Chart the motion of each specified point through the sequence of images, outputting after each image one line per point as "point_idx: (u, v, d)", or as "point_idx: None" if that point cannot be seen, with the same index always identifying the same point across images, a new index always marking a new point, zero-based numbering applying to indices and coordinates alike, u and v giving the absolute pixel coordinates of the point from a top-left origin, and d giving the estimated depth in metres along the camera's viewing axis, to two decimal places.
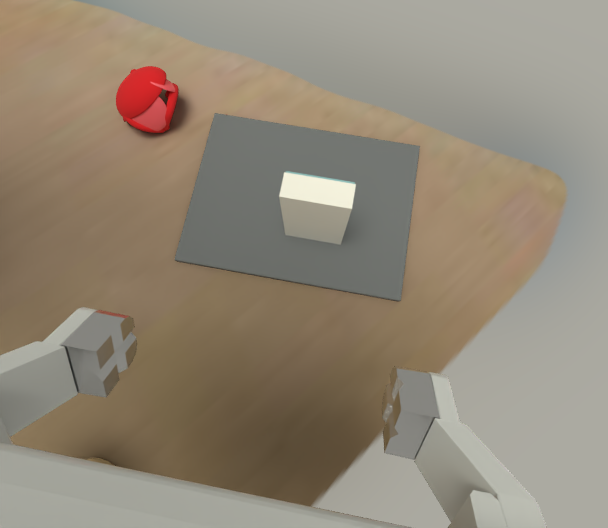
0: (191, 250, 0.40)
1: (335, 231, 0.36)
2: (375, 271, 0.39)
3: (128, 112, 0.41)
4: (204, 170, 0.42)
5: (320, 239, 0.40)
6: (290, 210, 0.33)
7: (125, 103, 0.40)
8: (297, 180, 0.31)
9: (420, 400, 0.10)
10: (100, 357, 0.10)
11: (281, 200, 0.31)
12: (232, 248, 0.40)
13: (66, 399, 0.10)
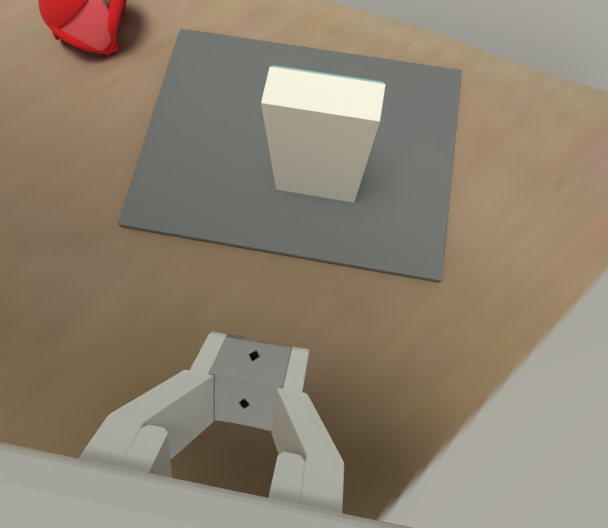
0: (142, 211, 0.28)
1: (348, 176, 0.25)
2: (405, 240, 0.28)
3: (54, 17, 0.29)
4: (164, 103, 0.30)
5: (325, 194, 0.28)
6: (280, 136, 0.21)
7: (48, 2, 0.28)
8: (290, 78, 0.19)
9: (269, 371, 0.10)
10: (246, 385, 0.10)
11: (265, 112, 0.20)
12: (200, 207, 0.28)
13: (205, 427, 0.10)
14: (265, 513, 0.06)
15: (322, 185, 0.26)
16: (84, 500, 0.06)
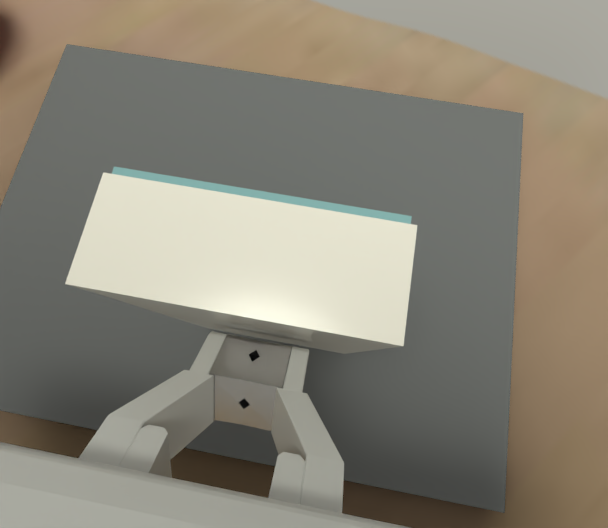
0: None
1: (329, 347, 0.12)
2: (435, 428, 0.15)
3: None
4: (28, 169, 0.18)
5: (293, 343, 0.16)
6: (165, 311, 0.09)
7: None
8: (156, 208, 0.07)
9: (269, 371, 0.10)
10: (246, 385, 0.10)
11: (96, 292, 0.07)
12: (73, 363, 0.16)
13: (205, 427, 0.10)
14: (265, 513, 0.06)
15: (284, 341, 0.14)
16: (84, 500, 0.06)
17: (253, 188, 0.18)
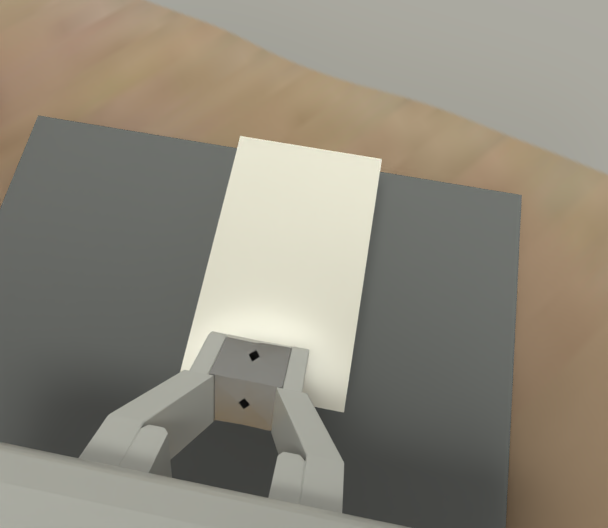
0: None
1: (336, 298, 0.14)
2: None
3: None
4: None
5: None
6: (244, 198, 0.15)
7: None
8: None
9: (269, 371, 0.10)
10: (246, 385, 0.10)
11: (239, 152, 0.16)
12: None
13: (205, 427, 0.10)
14: (265, 513, 0.06)
15: (284, 342, 0.14)
16: (84, 500, 0.06)
17: None
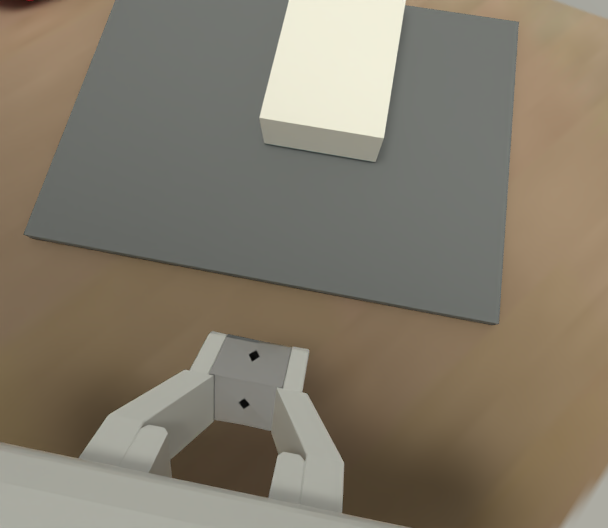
0: (60, 216, 0.19)
1: (377, 66, 0.19)
2: (442, 261, 0.19)
3: None
4: (100, 64, 0.22)
5: (339, 120, 0.18)
6: (304, 0, 0.20)
7: None
8: None
9: (269, 371, 0.10)
10: (246, 385, 0.10)
11: None
12: (144, 211, 0.19)
13: (205, 427, 0.10)
14: (265, 513, 0.06)
15: (338, 94, 0.18)
16: (84, 500, 0.06)
17: None
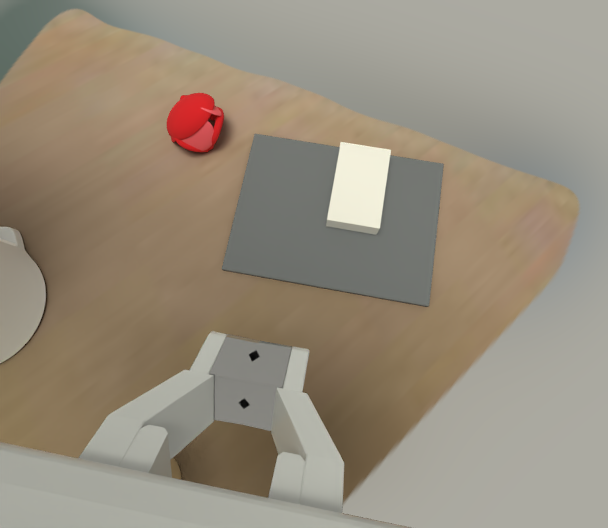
0: (237, 260, 0.44)
1: (376, 195, 0.43)
2: (405, 279, 0.43)
3: (179, 134, 0.44)
4: (246, 186, 0.46)
5: (361, 220, 0.42)
6: (343, 163, 0.44)
7: (177, 126, 0.44)
8: None
9: (269, 371, 0.10)
10: (246, 385, 0.10)
11: (341, 147, 0.45)
12: (274, 258, 0.44)
13: (205, 427, 0.10)
14: (265, 513, 0.06)
15: (360, 208, 0.43)
16: (84, 500, 0.06)
17: None
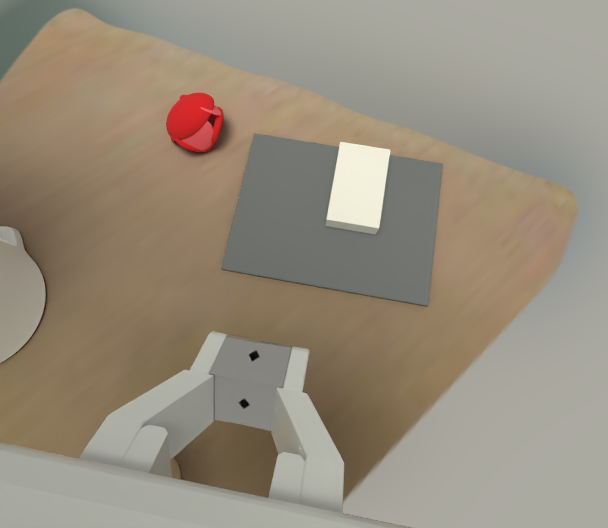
0: (236, 260, 0.44)
1: (375, 195, 0.43)
2: (405, 279, 0.43)
3: (178, 134, 0.44)
4: (246, 186, 0.46)
5: (360, 220, 0.43)
6: (343, 163, 0.44)
7: (176, 126, 0.44)
8: None
9: (269, 371, 0.10)
10: (246, 385, 0.10)
11: (340, 147, 0.45)
12: (273, 258, 0.44)
13: (205, 427, 0.10)
14: (265, 513, 0.06)
15: (359, 208, 0.43)
16: (84, 500, 0.06)
17: None
